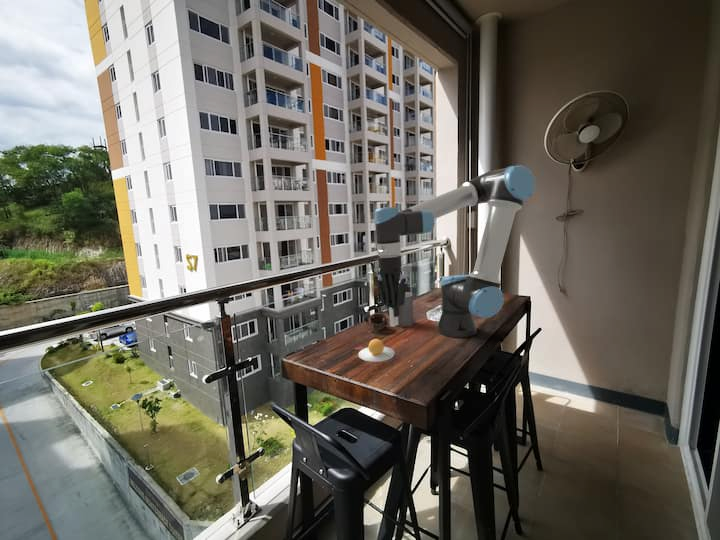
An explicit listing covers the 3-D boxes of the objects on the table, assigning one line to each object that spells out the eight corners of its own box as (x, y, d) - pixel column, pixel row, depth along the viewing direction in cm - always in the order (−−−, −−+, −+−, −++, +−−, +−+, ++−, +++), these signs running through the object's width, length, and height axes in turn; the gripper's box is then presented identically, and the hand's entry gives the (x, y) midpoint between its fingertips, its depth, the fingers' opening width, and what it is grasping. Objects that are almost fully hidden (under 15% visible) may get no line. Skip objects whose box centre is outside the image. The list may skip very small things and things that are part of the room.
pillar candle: (387, 324, 148) (386, 292, 145) (401, 318, 154) (400, 287, 151) (404, 329, 140) (402, 295, 138) (418, 323, 147) (417, 290, 144)
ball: (387, 353, 117) (374, 349, 120) (386, 338, 116) (374, 335, 119) (378, 358, 113) (365, 355, 116) (377, 343, 112) (364, 340, 115)
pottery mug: (392, 327, 145) (391, 314, 140) (382, 342, 139) (381, 330, 134) (369, 317, 150) (367, 305, 145) (358, 332, 145) (356, 319, 139)
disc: (374, 344, 126) (374, 343, 126) (402, 351, 117) (402, 351, 117) (350, 355, 116) (350, 355, 116) (379, 365, 108) (379, 364, 107)
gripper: (366, 257, 107) (372, 325, 111) (398, 258, 98) (403, 332, 102) (380, 253, 113) (385, 319, 116) (412, 254, 104) (417, 325, 108)
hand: (394, 325), depth 109 cm, fingers closed
